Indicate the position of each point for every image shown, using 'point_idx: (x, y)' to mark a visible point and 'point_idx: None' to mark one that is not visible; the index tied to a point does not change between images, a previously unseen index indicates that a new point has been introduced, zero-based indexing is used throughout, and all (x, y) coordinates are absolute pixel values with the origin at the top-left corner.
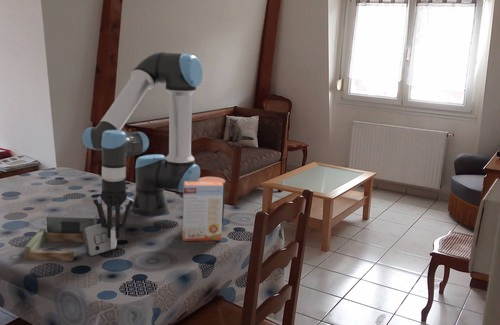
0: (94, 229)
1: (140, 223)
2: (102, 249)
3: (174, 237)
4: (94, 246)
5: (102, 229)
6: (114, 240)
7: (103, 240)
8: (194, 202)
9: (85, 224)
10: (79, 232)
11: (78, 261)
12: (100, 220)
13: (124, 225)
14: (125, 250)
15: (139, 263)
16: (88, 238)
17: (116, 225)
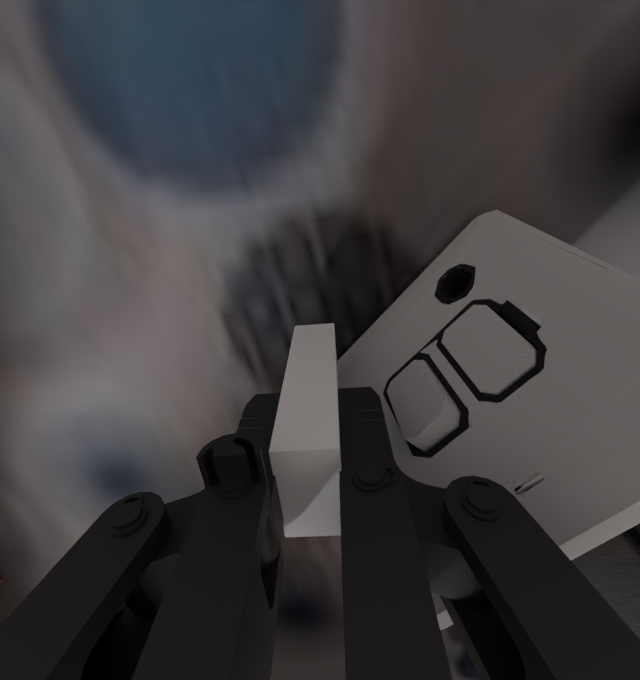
0: (606, 434)
1: (278, 664)
2: (404, 309)
3: (31, 559)
4: (490, 272)
5: None
6: (295, 364)
7: (416, 372)
8: None
9: (631, 606)
10: (630, 528)
11: (601, 61)
12: (622, 628)
13: (88, 537)
14: (236, 364)
15: (3, 107)
16: (630, 279)
17: (237, 528)
